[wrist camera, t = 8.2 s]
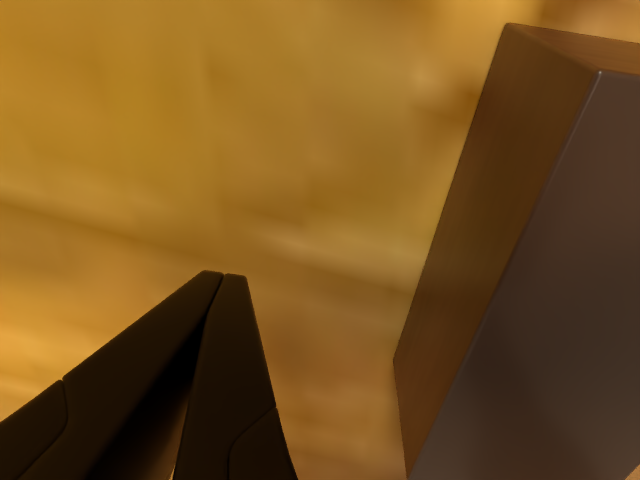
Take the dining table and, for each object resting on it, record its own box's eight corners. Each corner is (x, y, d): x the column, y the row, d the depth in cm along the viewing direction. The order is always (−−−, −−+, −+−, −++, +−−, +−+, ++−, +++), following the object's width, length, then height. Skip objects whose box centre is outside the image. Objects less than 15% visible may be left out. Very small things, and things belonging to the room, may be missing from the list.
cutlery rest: (542, 379, 15) (600, 506, 11) (392, 359, 15) (406, 483, 11) (743, 59, 9) (971, 128, 6) (504, 21, 9) (598, 68, 6)
